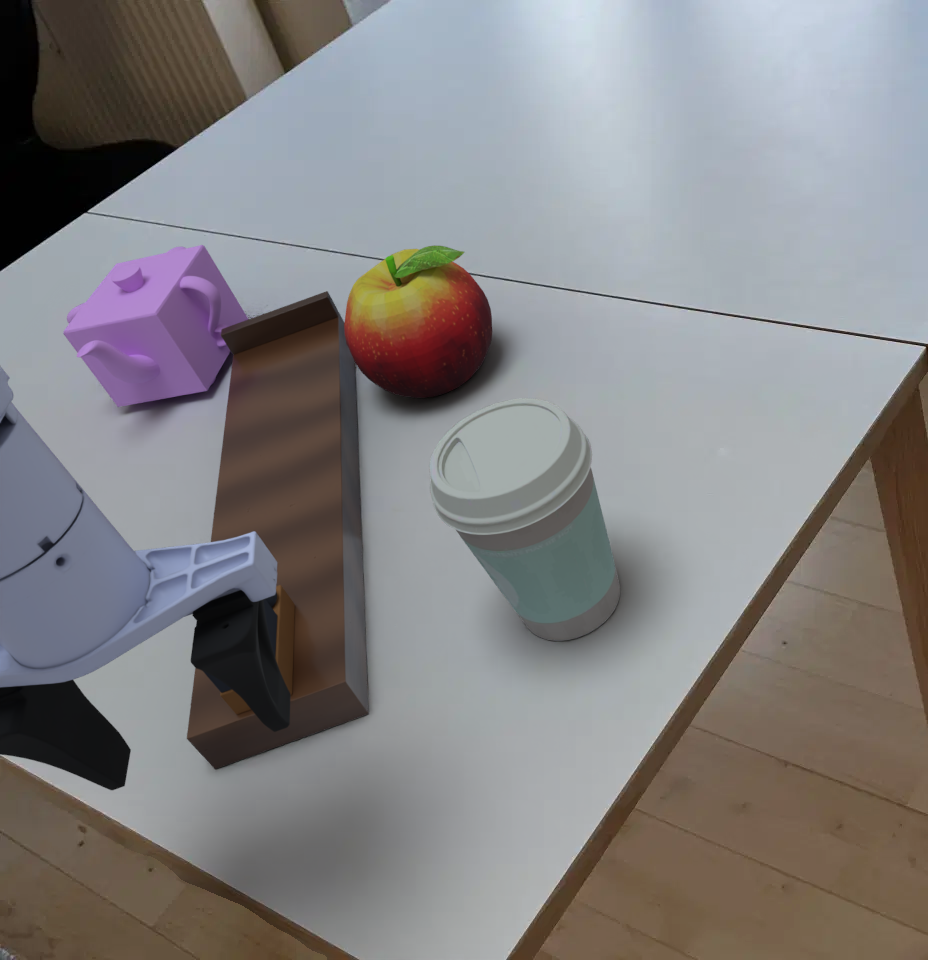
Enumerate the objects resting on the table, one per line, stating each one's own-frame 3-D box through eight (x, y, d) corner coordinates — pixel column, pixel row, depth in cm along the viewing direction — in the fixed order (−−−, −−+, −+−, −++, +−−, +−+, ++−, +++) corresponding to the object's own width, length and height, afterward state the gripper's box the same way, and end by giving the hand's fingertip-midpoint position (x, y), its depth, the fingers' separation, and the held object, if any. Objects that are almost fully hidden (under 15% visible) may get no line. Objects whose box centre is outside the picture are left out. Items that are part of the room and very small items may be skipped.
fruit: (390, 345, 89) (336, 238, 82) (517, 318, 87) (472, 207, 80) (361, 431, 81) (299, 320, 75) (500, 404, 79) (448, 288, 72)
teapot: (214, 432, 86) (143, 328, 80) (65, 458, 90) (-16, 360, 83) (286, 302, 99) (230, 203, 93) (153, 329, 103) (90, 235, 96)
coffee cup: (523, 548, 67) (449, 397, 59) (656, 543, 64) (598, 384, 57) (481, 662, 61) (394, 511, 53) (627, 661, 58) (556, 502, 51)
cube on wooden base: (292, 695, 59) (248, 639, 56) (236, 715, 59) (189, 660, 56) (295, 604, 64) (255, 548, 61) (243, 622, 64) (201, 567, 61)
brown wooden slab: (369, 714, 61) (328, 658, 57) (214, 769, 61) (165, 717, 57) (354, 340, 91) (327, 290, 88) (251, 377, 91) (221, 328, 88)
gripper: (204, 404, 44) (352, 622, 52) (-141, 528, 44) (65, 726, 52) (187, 517, 38) (355, 740, 47) (-207, 659, 38) (35, 855, 47)
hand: (201, 741), depth 49 cm, fingers open, 7 cm apart
